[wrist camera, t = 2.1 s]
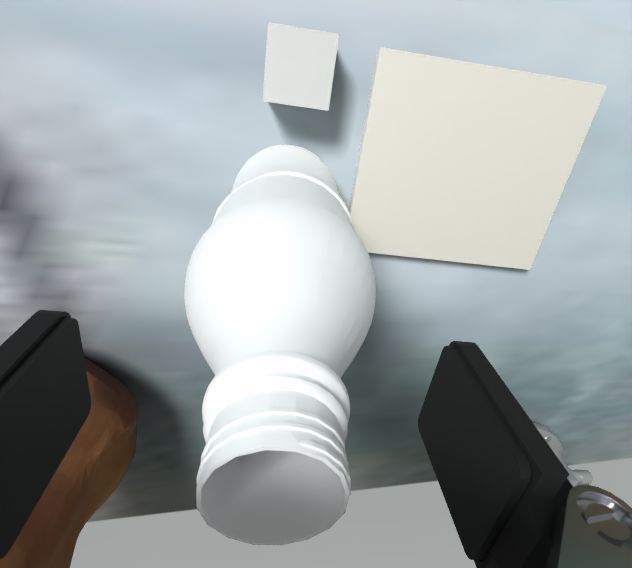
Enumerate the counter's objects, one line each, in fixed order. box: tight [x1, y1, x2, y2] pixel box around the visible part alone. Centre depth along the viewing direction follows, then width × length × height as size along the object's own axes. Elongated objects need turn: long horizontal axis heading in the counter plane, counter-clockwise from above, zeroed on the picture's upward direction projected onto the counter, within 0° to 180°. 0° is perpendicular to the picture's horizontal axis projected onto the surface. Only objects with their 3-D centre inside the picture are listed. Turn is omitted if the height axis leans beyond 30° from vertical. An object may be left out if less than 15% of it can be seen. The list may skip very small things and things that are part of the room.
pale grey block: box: [263, 22, 339, 111], centre depth 24 cm, size 4×4×4 cm
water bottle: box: [184, 144, 376, 545], centre depth 19 cm, size 7×7×25 cm
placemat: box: [349, 47, 607, 270], centre depth 29 cm, size 16×14×1 cm
